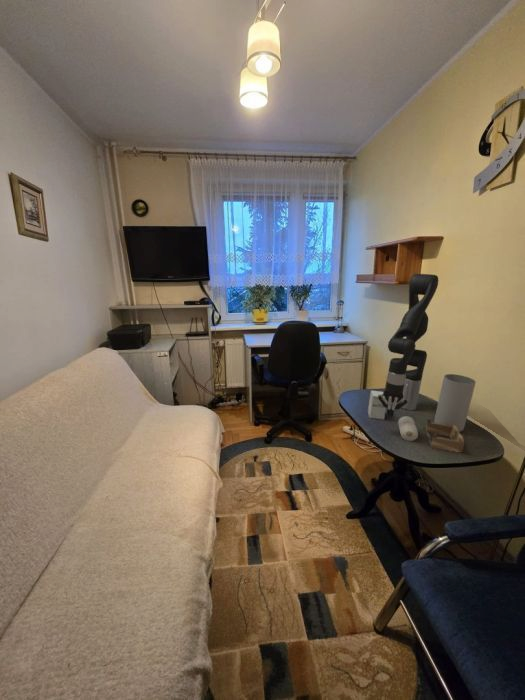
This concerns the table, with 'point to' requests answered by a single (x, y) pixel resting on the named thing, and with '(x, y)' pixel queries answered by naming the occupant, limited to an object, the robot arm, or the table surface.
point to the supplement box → (376, 406)
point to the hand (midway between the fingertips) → (389, 416)
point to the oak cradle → (442, 443)
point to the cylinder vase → (454, 400)
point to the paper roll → (407, 428)
